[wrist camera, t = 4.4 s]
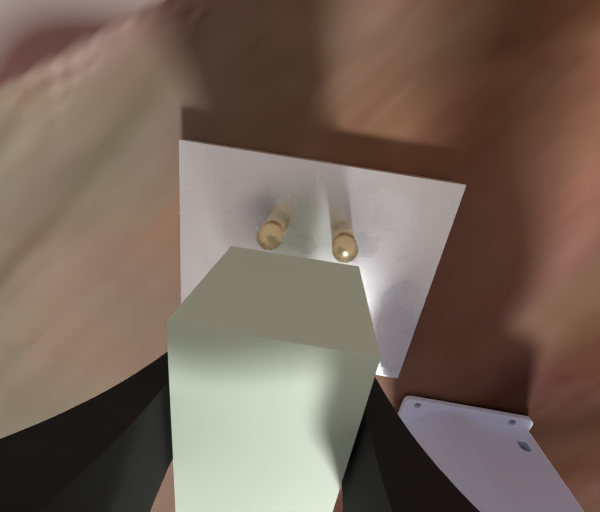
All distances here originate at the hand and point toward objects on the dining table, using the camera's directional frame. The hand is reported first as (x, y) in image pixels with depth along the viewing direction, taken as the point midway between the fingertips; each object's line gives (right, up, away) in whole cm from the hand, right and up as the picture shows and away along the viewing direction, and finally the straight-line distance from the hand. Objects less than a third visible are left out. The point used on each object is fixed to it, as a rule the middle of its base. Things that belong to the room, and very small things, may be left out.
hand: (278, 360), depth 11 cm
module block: (0, 0, +2) cm, 2 cm away
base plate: (+1, +4, +8) cm, 8 cm away
